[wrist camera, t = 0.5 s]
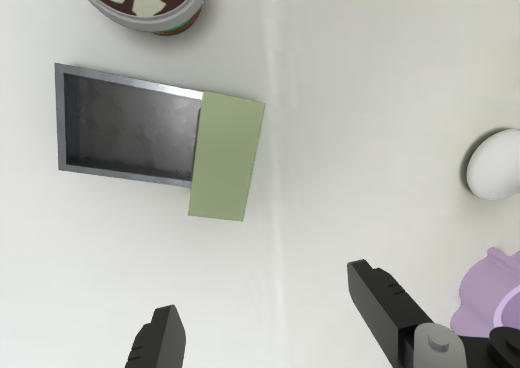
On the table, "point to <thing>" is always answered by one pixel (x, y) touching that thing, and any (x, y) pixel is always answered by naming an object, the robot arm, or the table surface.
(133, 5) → the food container
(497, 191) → the flower in vase
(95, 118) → the gray open tray
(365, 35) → the table surface
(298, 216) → the table surface
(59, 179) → the table surface
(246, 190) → the pale green rectangular block
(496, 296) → the purple double cup holder
